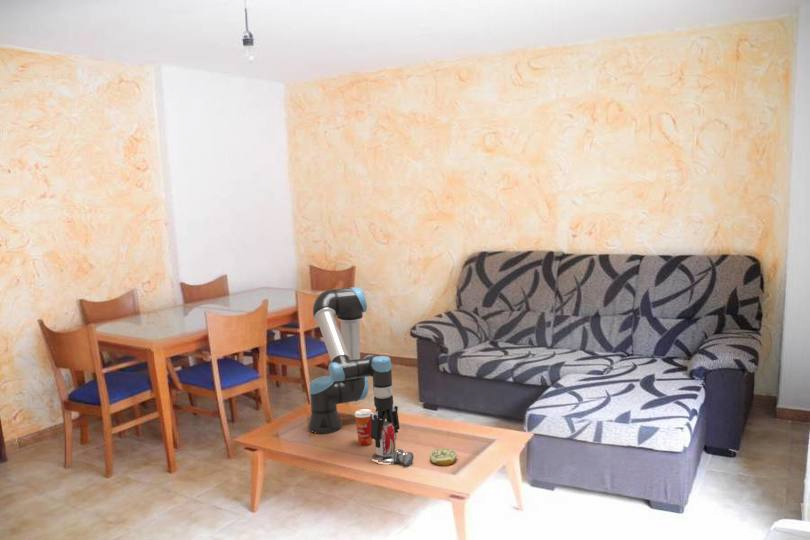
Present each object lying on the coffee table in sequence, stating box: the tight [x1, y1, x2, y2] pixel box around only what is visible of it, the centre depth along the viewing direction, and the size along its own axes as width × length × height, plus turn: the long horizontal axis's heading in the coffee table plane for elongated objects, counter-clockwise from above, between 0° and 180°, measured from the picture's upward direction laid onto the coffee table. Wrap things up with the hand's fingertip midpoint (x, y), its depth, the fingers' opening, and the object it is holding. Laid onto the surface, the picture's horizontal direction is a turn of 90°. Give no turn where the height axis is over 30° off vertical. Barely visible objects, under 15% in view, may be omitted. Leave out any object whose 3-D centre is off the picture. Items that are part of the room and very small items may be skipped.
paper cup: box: [354, 408, 374, 447], centre depth 277 cm, size 8×8×14 cm
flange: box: [371, 452, 396, 464], centre depth 260 cm, size 12×12×1 cm
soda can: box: [381, 420, 396, 455], centre depth 260 cm, size 7×7×12 cm
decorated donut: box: [429, 448, 457, 467], centre depth 255 cm, size 10×11×4 cm
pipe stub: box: [394, 448, 414, 467], centre depth 254 cm, size 6×5×5 cm
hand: (386, 451), depth 260 cm, fingers closed on soda can, 7 cm apart
